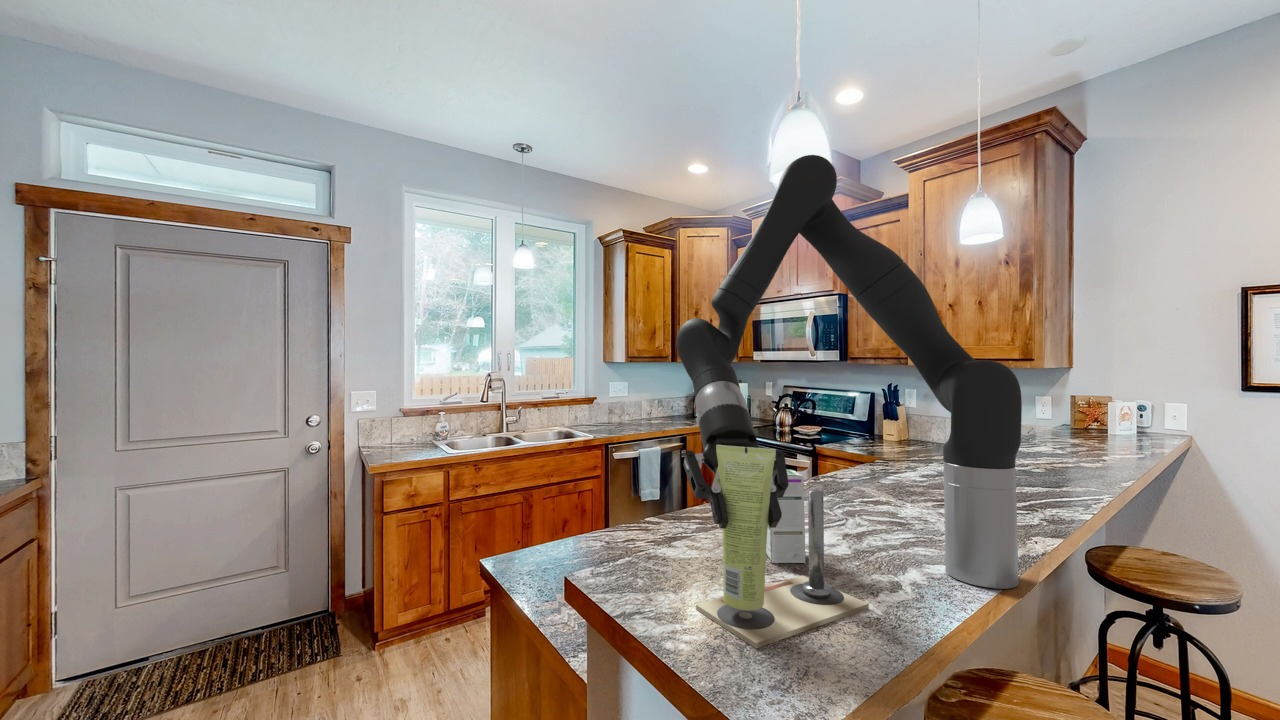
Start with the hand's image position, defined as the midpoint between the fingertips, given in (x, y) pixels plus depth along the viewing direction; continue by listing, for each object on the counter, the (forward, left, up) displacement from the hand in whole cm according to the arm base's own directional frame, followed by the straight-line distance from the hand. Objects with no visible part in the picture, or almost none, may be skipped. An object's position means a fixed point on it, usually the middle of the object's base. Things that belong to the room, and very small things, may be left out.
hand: (749, 524), depth 61 cm
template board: (-7, -1, -12) cm, 14 cm away
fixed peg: (-14, -1, -12) cm, 18 cm away
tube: (-1, -2, -10) cm, 11 cm away
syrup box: (-22, -15, -12) cm, 29 cm away
